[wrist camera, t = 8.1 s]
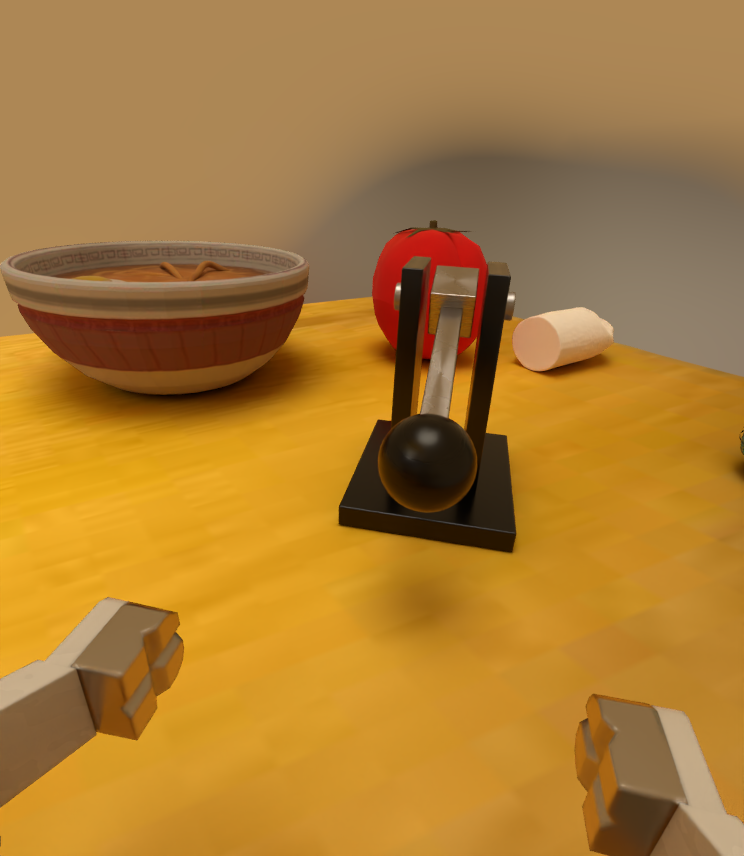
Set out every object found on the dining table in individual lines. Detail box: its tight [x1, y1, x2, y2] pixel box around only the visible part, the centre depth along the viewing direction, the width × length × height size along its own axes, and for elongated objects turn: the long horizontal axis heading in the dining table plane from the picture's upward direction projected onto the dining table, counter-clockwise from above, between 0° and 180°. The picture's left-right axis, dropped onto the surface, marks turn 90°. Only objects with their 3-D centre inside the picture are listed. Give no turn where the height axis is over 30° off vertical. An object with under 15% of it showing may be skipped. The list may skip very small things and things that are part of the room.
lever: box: [378, 265, 479, 512], centre depth 22 cm, size 14×4×4 cm, turn 168°
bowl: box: [0, 241, 309, 395], centre depth 43 cm, size 23×23×10 cm
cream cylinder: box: [512, 307, 614, 371], centre depth 52 cm, size 6×12×6 cm, turn 124°
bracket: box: [339, 256, 516, 552], centre depth 28 cm, size 11×9×13 cm
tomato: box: [372, 220, 487, 359], centre depth 50 cm, size 12×12×13 cm
